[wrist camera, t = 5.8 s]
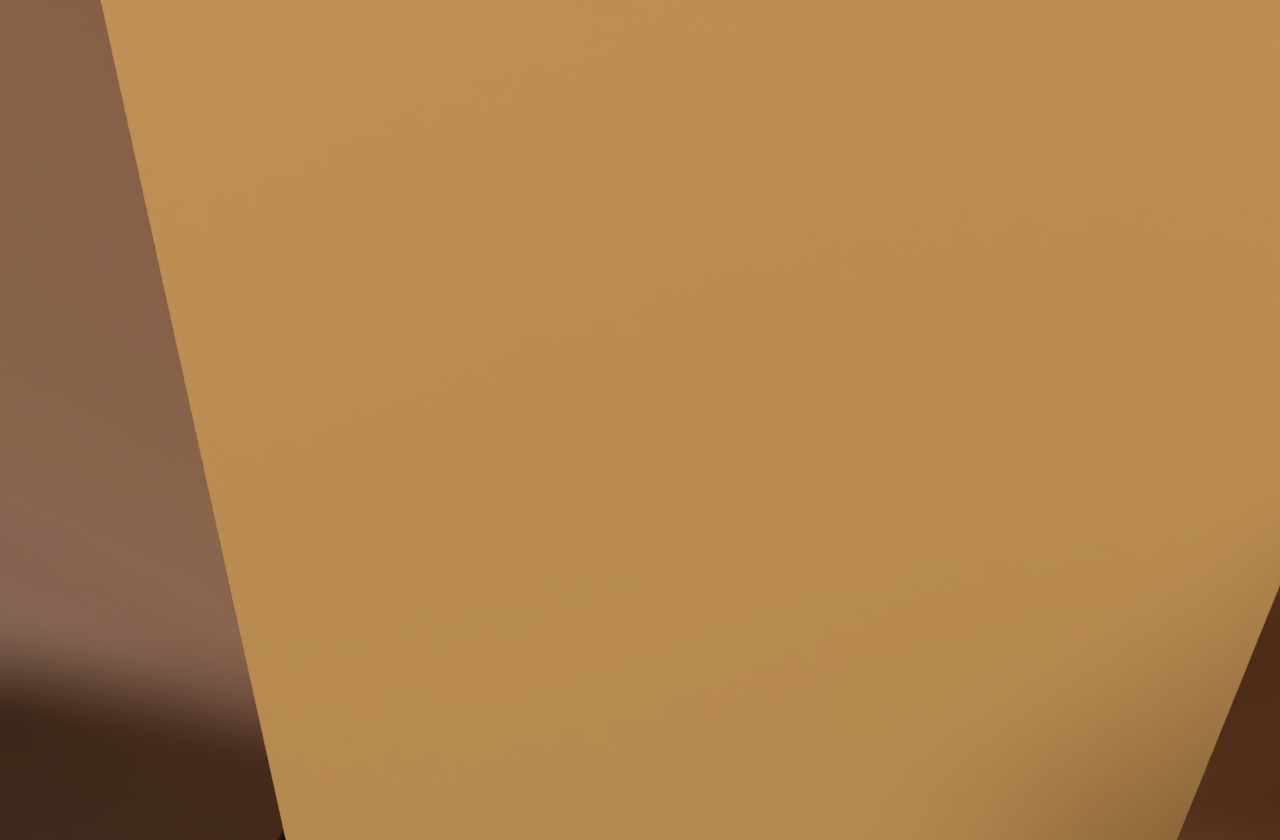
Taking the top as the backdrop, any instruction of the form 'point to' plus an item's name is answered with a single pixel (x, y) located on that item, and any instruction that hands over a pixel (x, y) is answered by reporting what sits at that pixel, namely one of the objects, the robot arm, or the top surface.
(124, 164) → the top surface
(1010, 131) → the tan rectangular slab
